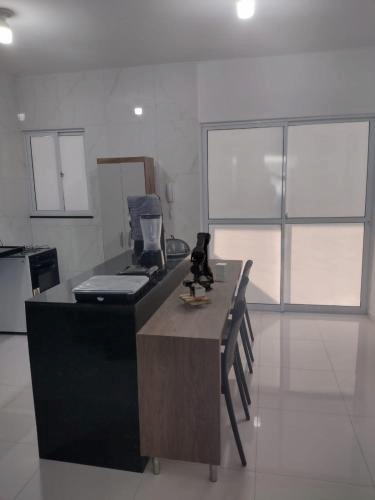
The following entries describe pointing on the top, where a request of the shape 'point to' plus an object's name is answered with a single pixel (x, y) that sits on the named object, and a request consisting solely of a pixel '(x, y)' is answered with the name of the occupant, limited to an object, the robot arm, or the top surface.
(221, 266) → the supplement box
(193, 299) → the pin board
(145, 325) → the top surface
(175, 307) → the top surface
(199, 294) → the sleeve
